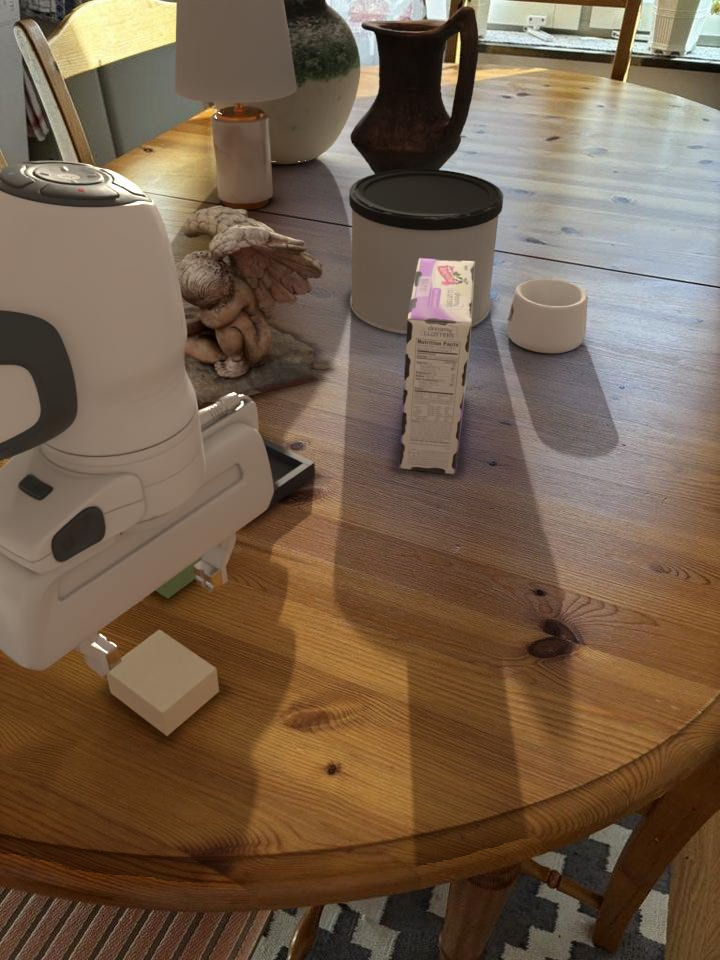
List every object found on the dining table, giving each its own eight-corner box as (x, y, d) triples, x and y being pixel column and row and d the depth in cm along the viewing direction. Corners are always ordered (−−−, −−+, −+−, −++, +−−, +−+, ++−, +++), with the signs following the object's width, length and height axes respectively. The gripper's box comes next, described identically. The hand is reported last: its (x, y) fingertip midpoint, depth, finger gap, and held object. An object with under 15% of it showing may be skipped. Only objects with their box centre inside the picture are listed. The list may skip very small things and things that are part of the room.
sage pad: (167, 599, 69) (164, 576, 68) (119, 567, 72) (114, 545, 71) (212, 566, 73) (210, 544, 71) (164, 537, 75) (161, 515, 74)
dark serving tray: (245, 525, 77) (244, 511, 76) (124, 457, 85) (122, 444, 84) (315, 475, 83) (314, 462, 82) (195, 417, 91) (194, 404, 90)
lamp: (219, 179, 156) (201, -39, 135) (316, 191, 151) (312, -33, 130) (166, 212, 141) (137, -26, 121) (272, 228, 136) (259, -18, 116)
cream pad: (167, 736, 59) (162, 713, 57) (110, 693, 62) (104, 669, 60) (219, 691, 62) (216, 668, 60) (163, 652, 65) (159, 628, 63)
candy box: (410, 397, 95) (418, 255, 85) (463, 402, 94) (477, 259, 85) (397, 470, 84) (404, 316, 74) (457, 475, 83) (473, 321, 74)
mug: (585, 359, 103) (594, 313, 99) (504, 352, 104) (509, 306, 100) (581, 315, 112) (589, 272, 109) (506, 309, 113) (512, 266, 110)
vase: (365, 139, 177) (368, -29, 160) (351, 183, 155) (352, -8, 137) (230, 134, 179) (218, -32, 162) (196, 176, 157) (177, -12, 139)
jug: (327, 199, 147) (326, 1, 130) (387, 173, 160) (393, -12, 142) (433, 226, 138) (447, 15, 120) (487, 195, 150) (508, 1, 132)
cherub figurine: (145, 339, 105) (123, 193, 95) (284, 314, 111) (278, 174, 101) (183, 410, 92) (163, 250, 82) (337, 377, 98) (337, 224, 88)
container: (385, 266, 125) (388, 160, 116) (509, 291, 118) (523, 181, 109) (323, 317, 111) (322, 201, 102) (461, 349, 104) (472, 228, 95)
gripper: (218, 367, 58) (237, 525, 66) (-66, 521, 45) (2, 694, 53) (288, 397, 54) (299, 559, 63) (4, 571, 42) (65, 747, 50)
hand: (161, 622), depth 58 cm, fingers open, 8 cm apart
